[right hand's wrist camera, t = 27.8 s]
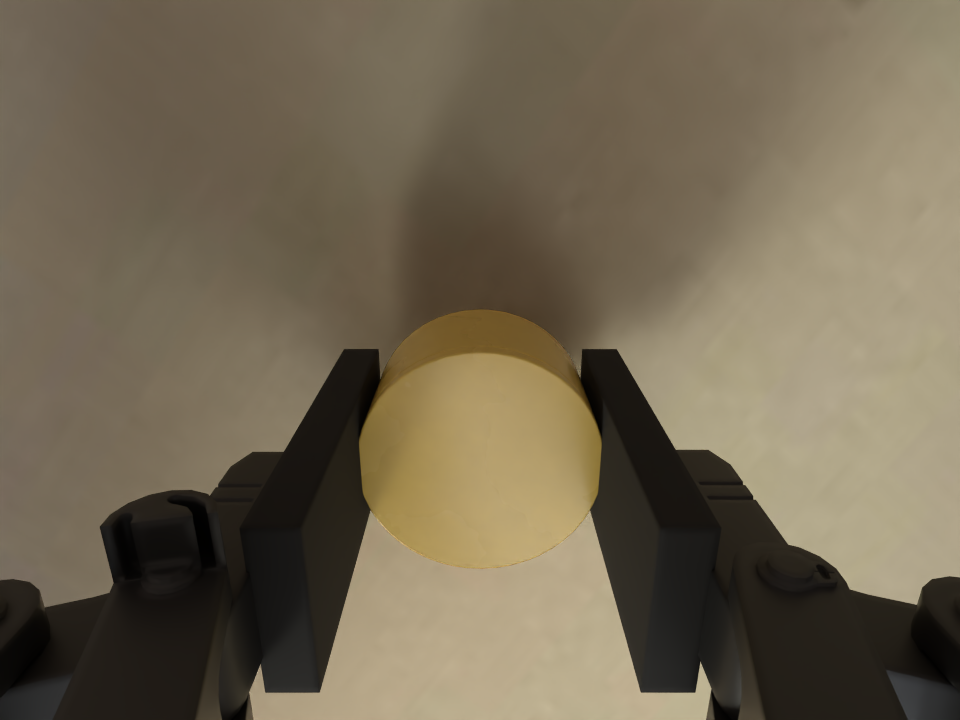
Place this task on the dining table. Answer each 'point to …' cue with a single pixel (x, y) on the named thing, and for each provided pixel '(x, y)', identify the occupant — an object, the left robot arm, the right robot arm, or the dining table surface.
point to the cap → (480, 442)
